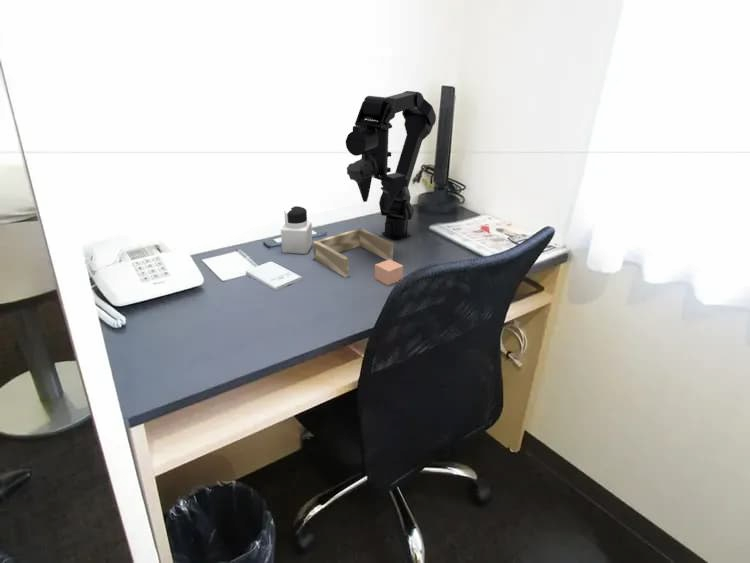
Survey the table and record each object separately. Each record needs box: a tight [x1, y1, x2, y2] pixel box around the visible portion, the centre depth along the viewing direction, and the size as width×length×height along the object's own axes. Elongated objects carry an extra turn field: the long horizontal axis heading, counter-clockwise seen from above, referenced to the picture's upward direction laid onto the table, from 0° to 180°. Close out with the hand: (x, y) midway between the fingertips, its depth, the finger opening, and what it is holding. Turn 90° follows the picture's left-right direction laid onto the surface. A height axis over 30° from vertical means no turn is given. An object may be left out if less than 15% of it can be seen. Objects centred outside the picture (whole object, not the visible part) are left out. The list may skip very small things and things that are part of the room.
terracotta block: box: [374, 259, 404, 286], centre depth 121 cm, size 5×5×4 cm
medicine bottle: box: [280, 205, 313, 255], centre depth 134 cm, size 7×7×12 cm
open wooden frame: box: [312, 227, 394, 278], centre depth 130 cm, size 16×14×5 cm
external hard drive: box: [245, 261, 303, 292], centre depth 121 cm, size 2×8×12 cm
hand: (375, 205), depth 131 cm, fingers open, 9 cm apart
